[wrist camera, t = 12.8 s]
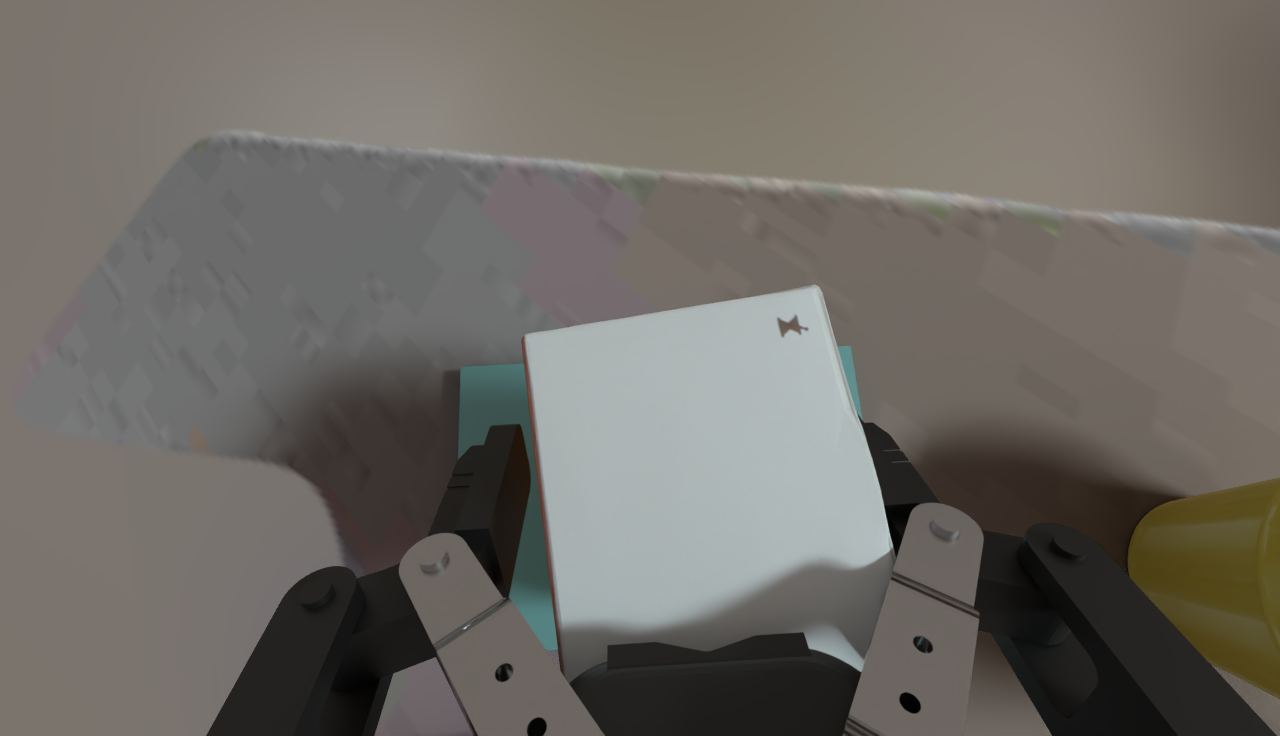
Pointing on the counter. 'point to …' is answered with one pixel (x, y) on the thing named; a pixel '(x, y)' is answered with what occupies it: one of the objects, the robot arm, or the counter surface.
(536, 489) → the board
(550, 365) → the small box
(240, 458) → the counter surface
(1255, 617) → the plant pot
